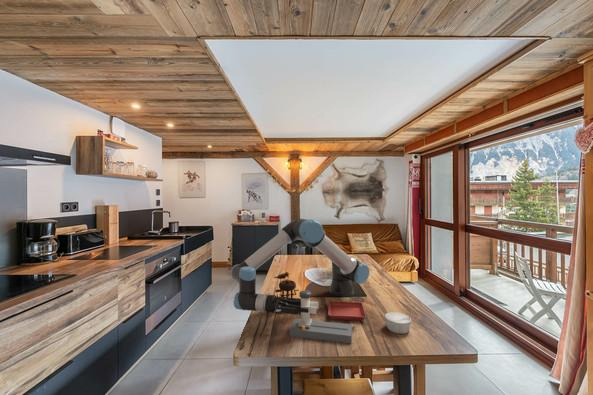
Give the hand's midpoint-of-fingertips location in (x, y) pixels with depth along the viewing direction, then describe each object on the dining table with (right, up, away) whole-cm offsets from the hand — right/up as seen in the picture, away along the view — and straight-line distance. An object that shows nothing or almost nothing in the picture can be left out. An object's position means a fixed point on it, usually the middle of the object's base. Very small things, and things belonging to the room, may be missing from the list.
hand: (317, 307), depth 112 cm
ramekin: (+37, -11, +4) cm, 39 cm away
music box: (-14, -12, +27) cm, 33 cm away
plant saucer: (+17, -12, +19) cm, 28 cm away
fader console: (+2, -11, -1) cm, 11 cm away
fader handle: (-5, -8, +1) cm, 9 cm away
